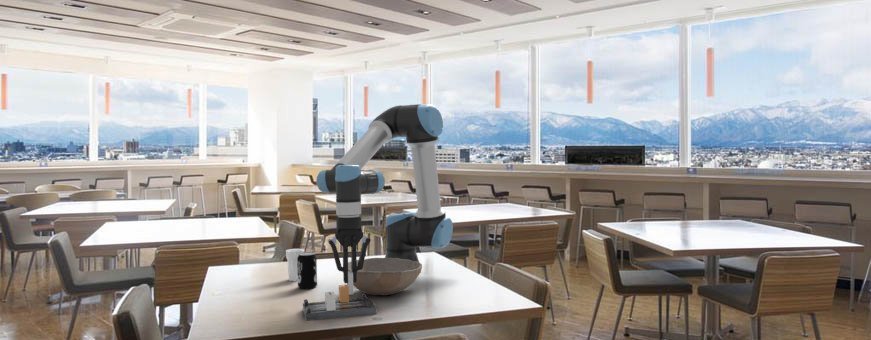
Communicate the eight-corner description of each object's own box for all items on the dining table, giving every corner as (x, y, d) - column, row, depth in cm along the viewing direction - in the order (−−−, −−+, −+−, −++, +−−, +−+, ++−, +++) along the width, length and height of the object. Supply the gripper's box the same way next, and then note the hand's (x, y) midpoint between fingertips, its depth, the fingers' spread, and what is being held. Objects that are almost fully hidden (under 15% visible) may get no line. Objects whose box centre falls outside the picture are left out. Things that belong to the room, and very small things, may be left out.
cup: (291, 282, 217) (291, 252, 217) (283, 279, 222) (282, 250, 222) (308, 279, 222) (307, 250, 221) (299, 276, 227) (298, 248, 226)
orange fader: (347, 299, 182) (346, 284, 182) (348, 301, 179) (348, 286, 179) (338, 299, 182) (338, 284, 181) (340, 302, 178) (340, 287, 178)
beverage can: (312, 289, 205) (311, 255, 204) (294, 289, 206) (293, 254, 206) (320, 285, 211) (319, 251, 211) (302, 285, 212) (302, 251, 212)
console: (368, 304, 185) (368, 293, 184) (376, 314, 173) (376, 303, 173) (302, 309, 179) (302, 299, 179) (306, 320, 167) (306, 309, 167)
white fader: (333, 307, 173) (333, 291, 173) (335, 310, 170) (335, 294, 170) (325, 307, 172) (324, 292, 172) (326, 311, 169) (326, 294, 169)
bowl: (403, 281, 216) (402, 254, 216) (436, 297, 192) (435, 266, 192) (332, 290, 204) (332, 261, 204) (358, 307, 181) (358, 274, 180)
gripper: (367, 213, 185) (369, 288, 186) (325, 215, 182) (327, 292, 182) (372, 216, 178) (373, 294, 179) (328, 218, 174) (330, 298, 175)
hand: (350, 293), depth 181 cm, fingers closed
